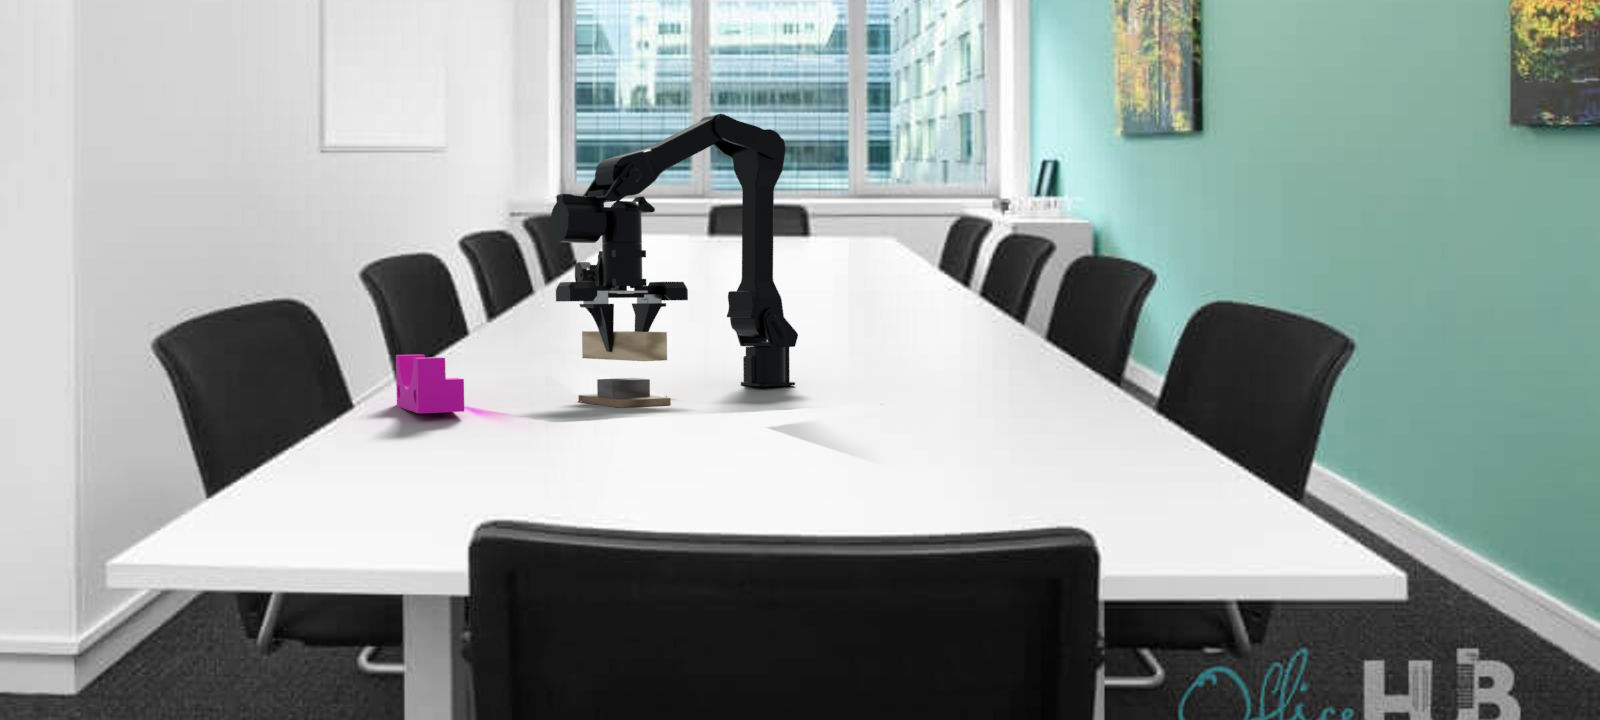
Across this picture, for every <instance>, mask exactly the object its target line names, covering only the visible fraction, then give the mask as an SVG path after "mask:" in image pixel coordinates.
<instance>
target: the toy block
mask: <svg viewBox="0 0 1600 720" xmlns="http://www.w3.org/2000/svg"><path fill="white" fill-rule="evenodd" d="M464 379H465V378H461V377H446V357H441V356H439V357H430V356H429V357H426V355H425V354H396V355H395V382H396V383H395V384H396V406H398V407H399V408H401V409H404V410H406V411H409V412H413V413H416V414H438V413H457V412H458V413H460V412H461V413H462V412H465V380H464Z"/></svg>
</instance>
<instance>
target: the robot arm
mask: <svg viewBox="0 0 1600 720" xmlns="http://www.w3.org/2000/svg"><path fill="white" fill-rule="evenodd" d="M711 146H713V147H714V148H715V149H716V150H717V151H718V152H720V153H721V154H723V155H724V156H726V157H728V158H730V159H732V164H733V172H734V174H735V176H736V179H737V180H738V182H739V184H740V186H741V190H742V199H741V200H742V201H741V202H742V203H741V205H742V208H741V209H742V214H741V215H742V216H741V217H742V219H741V222H742V223H741V227H742V228H741V229H742V230H741V280H740V283H739V285H738V287H737V289H736V290H730V291H728V293H727V302H728V311H727V314H726V318H729V320H730V321H729V322H730V326H731V328H732V329H733V330H734V332H735V333H736V336H737V340H738V343H739V345H740V346H741V347H745V355H743V361H742V362H743V364H742V365H743V369H742V370H743V381H741V382H740V385H741V386H749V387H763V388H764V387H781V386H782V387H783V386H796V381H795V382H793V381H790V377H791V376H790V373H791V371H790V370H791V369H790V348H793V347H796V345H797V341H798V338H799V334H798V332H797V331H796V329H795V328H794V327H793V326H792V325H791V323H790V322H789V321H788V320H787V319H786V317H785V315H784V314H785V313H784V308H783V300H782V297H781V294H780V293H779V290H778V288H777V285H776V284H775V282H774V221H775V219H774V211H775V209H774V205H775V204H774V203H775V201H774V200H775V199H774V197H775V196H774V195H775V194H774V193H775V187H776V185H777V184H778V181H779V179H780V177H781V175H782V173H783V170H784V164H785V157H786V151H787V150H786V149H787V148H786V142H785V140H784V138H782V137H781V135H780V133H778V132H777V131H776V130H773V129H763V128H762V127H760V126H757V125H753V124H749V123H748V122H744V121H741V120H737V119H735V118H733V117H732V116H729V115H726V114H724V113H717V114H713V115H707V116H704V117H702V118H701V119H700V120H699V121H698V122H696V123H693V124H691V125H690V126H688V127H686V128H684V129H682V130H680V131H678V132H676V133H674V134H672V135H670V136H668V137H666V138H664V139H662V140H660V141H658V142H656V143H654V144H652V145H651V146H649V147H647V148H644V149H640V150H638V151H637V150H636V151H634V152H628V153H625V154H620V155H617V156H613V157H609V158H606V159H604V160H602V161H600V162H599V163H598V164H597V166H596V170H595V173H594V179H593V180H592V182H591V183H590V185H589V186H588V187H587V189H586V190H585V192H584V194H583V195H576V194H572V193H560V194H557V195H556V203H555V204H554V206H553V208H552V210H551V214H550V217H549V219H548V220H549V221H548V225H549V233H550V235H551V237H552V239H553V240H554V241H555V243H556V242H557V243H572V244H575V243H579V244H595V243H597V242H598V241H599V240H600V238H602V239H601V241H602V242H601V243H602V244H601V246H602V247H601V248H602V249H601V250H599V251H598V255H597V262H596V264H592V263H591V262H589V261H578V262H577V263H576V264H574V279H575V281H560V282H559V283H558V285H557V286H556V289H555V302H583V303H579V307H580V308H581V309H582V308H585V309H586V311H587V312H588V313H589V314H590V315H591V316H592V318H593V320H594V322H595V324H596V325H595V326H596V327H597V330H598V331H599V332H600V335H601V338H602V341H603V343H604V346H605V349H606V351H607V352H612V347H613V331H614V326H615V325H614V323H615V322H614V319H615V315H614V314H615V311H614V310H615V303H609V299H615V298H616V299H622V298H623V299H629V298H630V299H632V298H634V299H635V298H636V303H635V302H633V303H631V306H632V307H631V308H632V310H633V313H634V331H638V332H650V329H651V326H652V325H653V323H654V321H655V319H656V318H657V315H658V314H659V311H660V310H661V309H662V307H664V308H665V307H667V303H666V302H662V301H688V300H689V292H688V291H689V289H688V287H687V285H686V284H685V282H684V281H649V282H648V285H647V278H643V259H644V258H647V250H646V249H645V250H644V249H643V241H642V240H643V237H642V236H643V235H642V234H643V231H642V214H651V213H654V212H656V208H655V207H654V206H653V205H652V204H651V203H650V202H648V201H647V200H646V197H645V196H637V195H639V194H641V193H642V192H644V191H645V190H646V189H647V188H649V186H651V185H652V184H653V183H655V182H656V181H657V180H658V178H659V177H660V175H661V174H662V173H663V172H665V171H666V170H667V169H669V168H671V167H673V166H675V165H678V164H679V163H681V162H683V161H685V160H688V159H689V158H691V157H692V156H694V155H697V154H698V153H700V152H702V151H704V150H706V149H708V148H709V147H711ZM631 196H635V197H634V198H633V199H632V200H630V201H629V200H623V199H625V197H631ZM612 202H613V204H612V205H611V206H610V207H608V206H605V203H612ZM628 287H629V288H630V289H633V290H628Z"/></svg>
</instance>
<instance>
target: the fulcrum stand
mask: <svg viewBox="0 0 1600 720" xmlns="http://www.w3.org/2000/svg"><path fill="white" fill-rule="evenodd" d="M650 381H651V379H649V378H639V377H624V378H623V377H620V378H598V379H596V385H597V387H596V388H597V393H596V394H594V393H593V394H578V402H580V401H582V402H581V403H585V404H592V405H600V406H605V407H606V406H607V407H613V408H620V409H621V408H635V407H638V408H639V407H654V406H655V407H657V406H671V405H672V404H671V403H672V402H671V400H672V399H671V397H665V396H657V395H651V382H650Z"/></svg>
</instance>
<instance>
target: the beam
mask: <svg viewBox="0 0 1600 720" xmlns="http://www.w3.org/2000/svg"><path fill="white" fill-rule="evenodd" d="M667 333H668V332H667V331H649V332H638V331H635V330H634V331H630V330H628V331H627V330H613V347H612V352H607V351H606V349H605V346H604V343H603V341H602V338H601V335H600V332H599V330H587V331H583V330H582V331H581V341H582V342H581V345H582V346H581V347H582V349H581V350H582V351H581V352H582V353H581V355H582V359H587V360H588V359H591V360H606V361H607V360H608V361H611V360H613V361H628V362H629V361H630V362H631V361H632V362H656V361H658V362H659V361H660V362H661V361H668V334H667Z"/></svg>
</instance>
